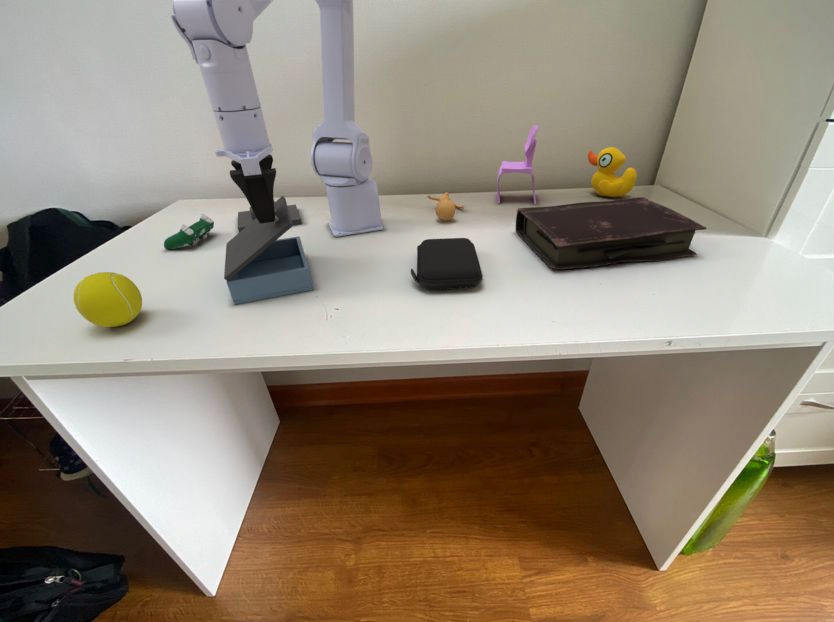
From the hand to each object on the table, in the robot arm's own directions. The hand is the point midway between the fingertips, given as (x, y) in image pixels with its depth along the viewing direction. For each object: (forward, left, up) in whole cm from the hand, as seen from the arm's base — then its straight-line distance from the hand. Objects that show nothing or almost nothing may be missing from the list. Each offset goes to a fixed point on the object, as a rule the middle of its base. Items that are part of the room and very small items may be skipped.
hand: (266, 215), depth 61 cm
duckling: (-72, -12, -10) cm, 74 cm away
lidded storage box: (+2, 0, -10) cm, 10 cm away
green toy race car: (+15, -21, -10) cm, 28 cm away
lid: (+2, 0, -3) cm, 3 cm away
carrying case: (-24, +9, -10) cm, 28 cm away
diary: (-53, +10, -10) cm, 55 cm away
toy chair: (-52, -18, -10) cm, 56 cm away
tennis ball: (+22, +6, -10) cm, 24 cm away
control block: (+1, -27, -10) cm, 29 cm away
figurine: (-32, -11, -9) cm, 35 cm away
